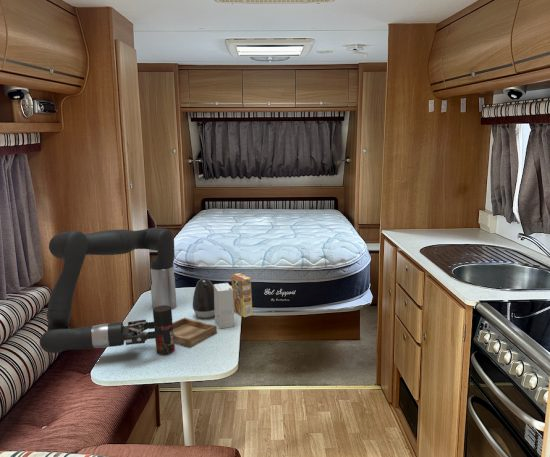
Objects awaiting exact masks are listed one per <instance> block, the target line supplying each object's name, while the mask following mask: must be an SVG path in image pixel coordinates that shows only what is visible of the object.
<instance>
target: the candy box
mask: <svg viewBox="0 0 550 457" xmlns="http://www.w3.org/2000/svg"><path fill="white" fill-rule="evenodd" d="M230 279H231V288H232V289H233V304H234V313H236V314H237V315H239V316H240V317H243V318H246V317H250V316H253V299H252V282H251V281H252V280H251V277H250V276H247V275H245V274H243V273H240V272H239V273H234V274H231V275H230Z"/></svg>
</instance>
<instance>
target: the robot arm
mask: <svg viewBox="0 0 550 457" xmlns="http://www.w3.org/2000/svg"><path fill="white" fill-rule="evenodd" d="M48 249H49V252H50V254H51V255H52V256H54V257H55V258H57V259H59V260H64V261H63V262H64V263H63V267H62V270H61V272H60V275H59V277H58V278H57V281H55V282H56V283H55V284H54V286H53V288H52V290H51V291H50V292H51V293H50V295H49V299H48V304H47V310H46V320H47V329H46V331H44V332H43V334H42V335H41V336H40V338H39V346H40V348H41V349H42V350H43V351H44V352H46V353H50V354H59V353H61V352H63V351H71V350H88V349H104V348H111V347H112V348H113V347H121V346H124V345H127V346H130V345H131V346H132V345H140V344H145V343H146V342H147V341H148V340H154V339H155V338H159V337H160V335H159V331H155V329H154V321H147V319H141V320H139V319H138V320H133V321H132V320H131V321H128V322H127V325H126V326H124V323H123V321H117V322H116V321H115V322H109V323H101V324H96V325H91V326H90V325H89V326H82V327H77V328H70V319H71V318H70V317H71V313H72V308H73V299H74V295H75V290H76V286H77V282H78V279H79V276H80V274H81V272H82V271H81V269H82V267H83V263H84V260H85V257H86V256H87V255H88V256H91V255H92V256H115V255H118V256H119V255H125V254H128V253H131V252H132V251H135V250H150V251H156V253H157V254H156V255H157V256H156V258H153V259H151V260H150V262H149V268H150V277H151V285H150V295H151V305H152V307H153V308H155V307H157V306H162V305H167V306H171V310H172V309H175V308H176V307H177V306H178V304H177V294H176V293H177V291H176V280H175V279H176V278H175V268H174V260H175V258H176V257H175V237H174V234H173V232H172V231H171V229H168V228H162V227H150V228H145V229H144V228H143V229H140V230H132V229H108V230H102V231H96V232H91V233H83V232H82V231H80V230H69V231H63V232H60V233H57V234H55V235H54V236H52V237H51V239H50V241H49V242H48ZM152 329H154V331H147V330H152ZM146 331H147V332H146Z"/></svg>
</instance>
